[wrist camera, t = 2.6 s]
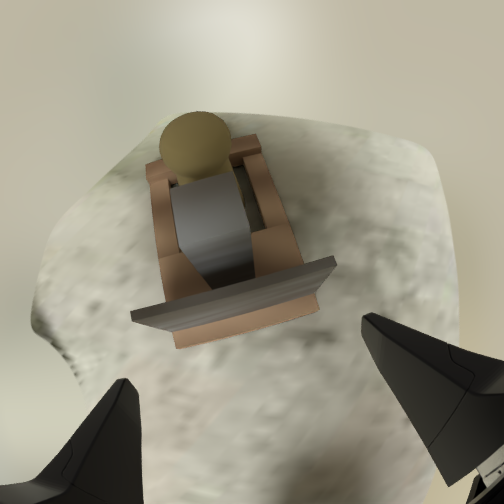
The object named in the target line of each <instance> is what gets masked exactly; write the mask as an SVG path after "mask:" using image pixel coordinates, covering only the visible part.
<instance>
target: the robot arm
mask: <svg viewBox="0 0 504 504" xmlns="http://www.w3.org/2000/svg"><path fill="white" fill-rule="evenodd" d="M361 334H362V337H363V339H364V341H365V343H366V345H367V347H368V349H369V351H370V353H371V356H372V358H373V360H374V362H375V364H376V366H377V368H378V369H379V371H380V373H381V374H382V376H383V377H384V379H385V381H386V382H387V384H388V385H389V387H390V388H391V390H392V392H393V393H394V395H395V396H396V398H397V400H398V401H399V403H400V404H401V406H402V408H403V409H404V411H405V413H406V414H407V416H408V418H409V419H410V421H411V423H412V424H413V426H414V428H415V429H416V431H417V433H418V434H419V436H420V438H421V439H422V441H423V443H424V445H425V446H426V448H428V449H427V450H428V452H429V453H430V455H431V457H432V459H433V461H434V462H435V464H436V466H437V468H438V469H439V471H440V473H441V475H442V477H443V479H444V480H445V482H446V484H447V486H448V487H450V486H451V485H453V484H454V483H456V482H457V481H459V480H460V479H462V478H463V477H464V476H466V475H467V474H469V473H470V472H471V471H472V470H474V469H475V468H476V469H477V471H478V472H479V474H478V475H477V476H476V477H475V478H474V480H473V484H472V487H471V490H470V493H469V496H468V499H467V502H466V504H504V361H502V360H498V359H495V358H491V357H487V356H484V355H480V354H477V353H474V352H470V351H467V350H465V349H462V348H459V347H456V346H454V345H451V344H447V343H446V342H444V341H441V340H439V339H436V338H434V337H432V336H429V335H427V334H424V333H422V332H419V331H417V330H414V329H412V328H410V327H407V326H405V325H402V324H400V323H397V322H395V321H393V320H390V319H388V318H385V317H383V316H380V315H378V314H376V313H373V312H371V313H368V314H366V315H363V316H362V324H361ZM141 437H142V432H141V417H140V404H139V394H138V391H137V390H136V389H135V387H134V386H133V385H132V383H131V382H130V381H129V380H128V379H127V378H122V379H117V380H116V381H115V383H114V384H113V385H112V386H111V387H110V389H109V390H108V391H107V392H106V394H105V395H104V396H103V397H102V399H101V400H100V401H99V402H98V404H97V405H96V406H95V407H94V409H93V410H92V411H91V412H90V414H89V415H88V416H87V417H86V419H85V420H84V421H83V422H82V424H81V425H80V426H79V428H78V429H77V430H76V431H75V433H74V434H73V435H72V437H71V438H70V439H69V441H68V442H67V443H66V444H65V445H64V447H63V448H62V449H61V450H60V452H59V453H58V454H57V455H56V456H55V457H54V459H53V460H52V461H51V462H50V463H49V464H48V465H47V466H46V467H45V468H44V469H43V470H42V472H41V473H40V474H39V475H38V476H37V477H36V478H34V479H32V480H30V481H28V482H23V483H16V484H9V485H0V504H144V500H143V485H142V452H141Z"/></svg>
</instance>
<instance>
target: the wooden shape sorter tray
mask: <svg viewBox="0 0 504 504" xmlns="http://www.w3.org/2000/svg"><path fill="white" fill-rule="evenodd" d="M231 143H232V146H231V150H230V154H229V157H228V158H229V161H230V163H231V166H232V167H235V166H239V165H244V168H245V170H246V173H247V176H248V179H249V182H250V185H251V188H252V191H253V193H254V196H255V199H256V202H257V205H258V208H259V211H260V214H261V217H262V220H263V223H264V226H265V229H263V230H260V231H256V232H252V233H251V231H250V225H249V222H248V219H247V216H246V212H245V209H244V206H243V203H242V200H241V196H240V193H239V190H238V187H237V184H236V180H235V177H234V174H233V171H231V172H227V173H223V174H219V175H216V176H212V177H208V178H205V179H201V180H198V181H194V182H191V183H187V184H184V185H181V186H178V187H174V188H171V185H172V184H175V183H178V181H177V176H176V174H174V173H173V172H172V171H171V170H170V169H169V168H168V167H167V166H166V165H165V164H164V162H163V160H162V159H160V160H157V161H154V162H152V163H149V164H146V179H147V181H148V182H149V184H150V194H151V204H152V213H153V222H154V230H155V238H156V245H157V252H158V259H159V265H160V272H161V277H162V283H163V289H164V294H165V300H166V302H165V303H161V304H157V305H153V306H149V307H145V308H141V309H137V310H133V311H130V313H131V319H132V321H133V322H136V323H140V324H143V325H147V326H150V327H154V328H158V329H162V330H166V331H170V332H172V333H173V338H174V342H175V346H176V349H182V348H187V347H191V346H196V345H200V344H204V343H208V342H212V341H217V340H221V339H224V338H228V337H232V336H236V335H240V334H244V333H247V332H251V331H254V330H258V329H262V328H265V327H268V326H272V325H275V324H279V323H282V322H285V321H289V320H292V319H295V318H298V317H301V316H304V315H307V314H311V313H314V312H317V311H318V310H319V306H318V303H317V300H316V297H315V294H314V293H315V292H316V290H317V289H318V288H319V287H320V286H321V284H322V283H323V282H324V281H325V279H326V278H327V277H328V276H329V275H330V273H331V272H332V271H333V269H334V268H335V267H336V266H337V263H336V261H335V258H334V256H329V257H326V258H323V259H319V260H316V261H313V262H309V263H306V264H304V262H303V259H302V257H301V254H300V251H299V248H298V245H297V243H296V240H295V237H294V235H293V232H292V229H291V227H290V224H289V221H288V219H287V216H286V213H285V211H284V208H283V206H282V203H281V200H280V198H279V195H278V193H277V190H276V188H275V185H274V183H273V180H272V178H271V175H270V173H269V170H268V168H267V165H266V163H265V160H264V158H263V156H262V153H261V145H260V143H259V140H258V138H257V136H256V134H252V135H248V136H243V137H239V138H235V139H231Z"/></svg>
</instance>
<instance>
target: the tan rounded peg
mask: <svg viewBox="0 0 504 504" xmlns="http://www.w3.org/2000/svg"><path fill="white" fill-rule="evenodd" d="M231 146H232V143H231V135H230V130H229V129H228V127H227V125H226V124H225V122H224V121H223V120H222V119H221V118H219V117H218V116H216V115H215V114H213V113H209V112H198V111H197V112H191V113H187V114H184V115H182V116H179V117H178V118H176V119H174V120H173V121H171V122H170V123H169V124H168V125H167V126H166V128H165V129H164V131H163V133H162V135H161V138H160V144H159V149H160V154H161V157H162V160H163V162H164V164H165V165H166V166H167V167H168V168H169V169H170V170H171V171H172V172H173V173H174V174H176V176H177V181H178V185H179V186H181V185H184V184H187V183H191V182H194V181H198V180H201V179H205V178H208V177H212V176H216V175H219V174H223V173H227V172H231V171H233V168H232V166H231V163H230V161H229V158H228V157H229V154H230V150H231ZM233 174H234V177H235V180H236V184H237V187H238V190H239V193H240V196H241V200H242V203H243V206H244V209H245V200H244V196H243V194H242V191H241V189H240V186H239V184H238V181H237V178H236V176H235V173H234V171H233Z"/></svg>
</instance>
